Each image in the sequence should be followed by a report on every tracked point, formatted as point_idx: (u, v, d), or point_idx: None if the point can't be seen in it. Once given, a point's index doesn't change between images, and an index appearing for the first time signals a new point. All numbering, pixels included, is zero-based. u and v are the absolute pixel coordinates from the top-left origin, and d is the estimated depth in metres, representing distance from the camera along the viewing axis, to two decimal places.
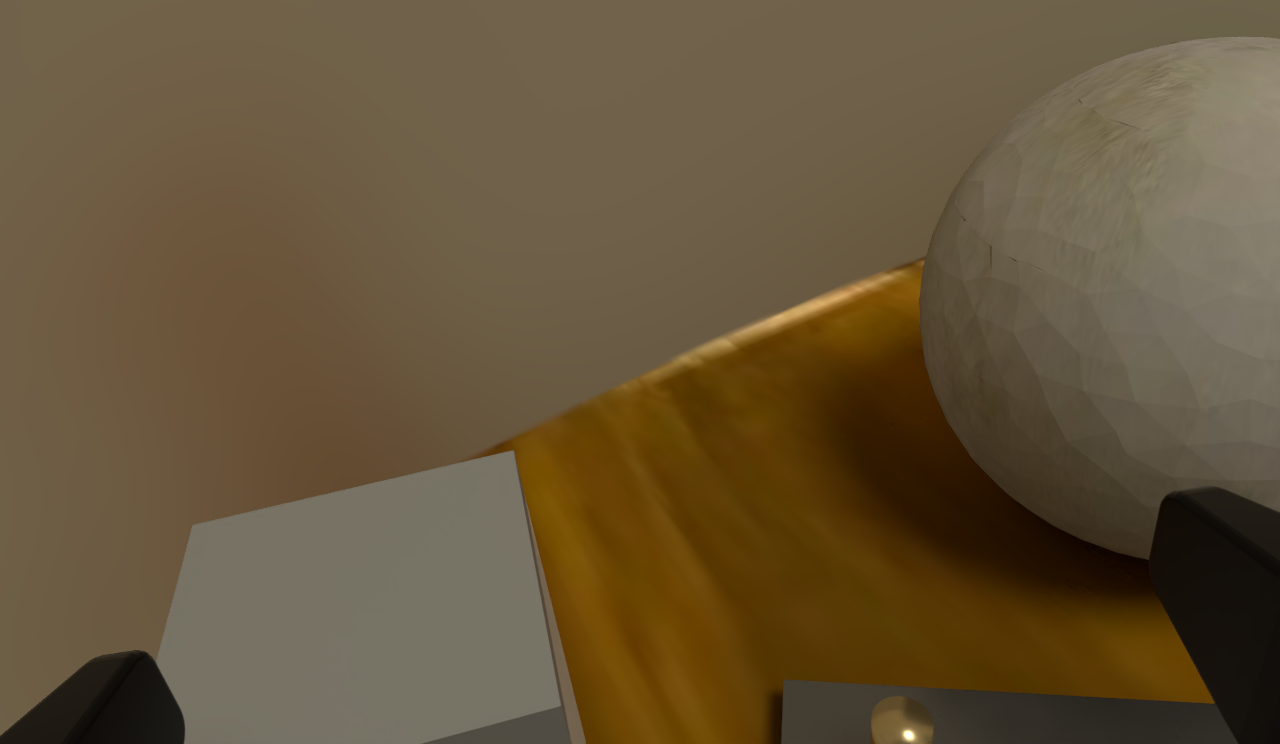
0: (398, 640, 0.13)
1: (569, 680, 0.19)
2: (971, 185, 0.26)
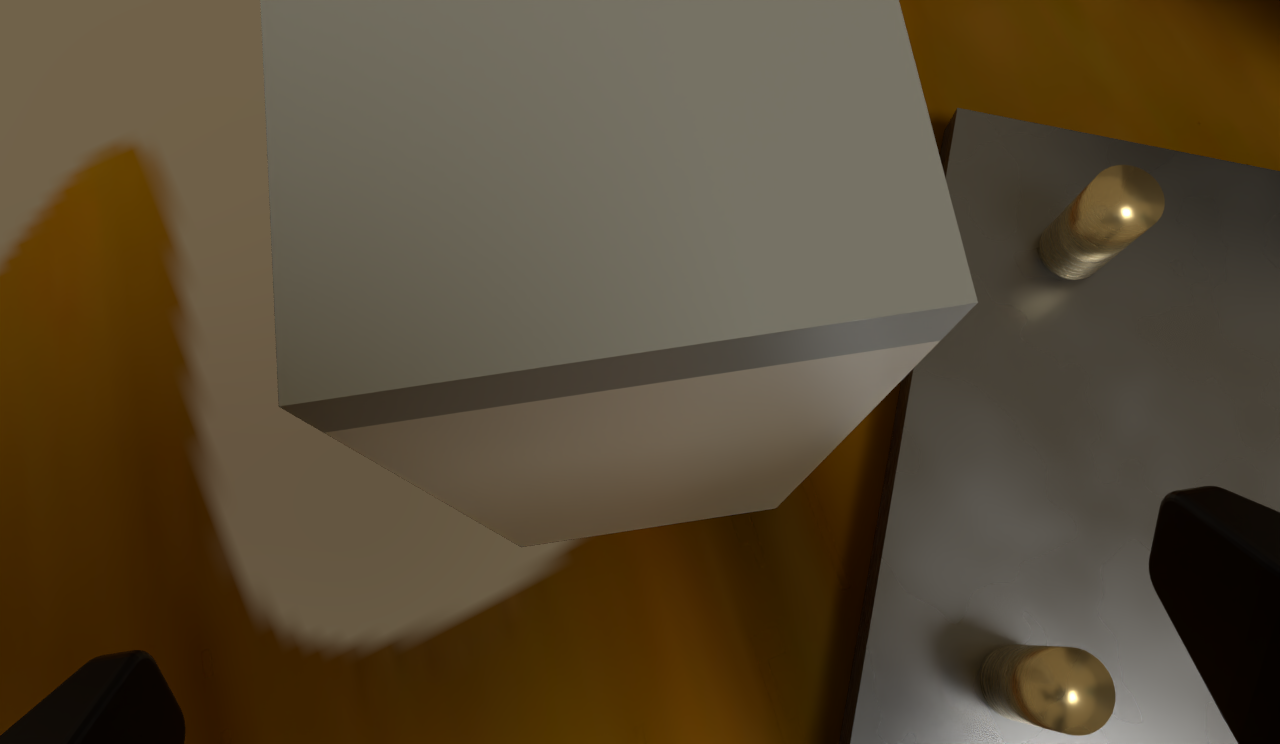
0: (682, 138, 0.08)
1: None
2: None
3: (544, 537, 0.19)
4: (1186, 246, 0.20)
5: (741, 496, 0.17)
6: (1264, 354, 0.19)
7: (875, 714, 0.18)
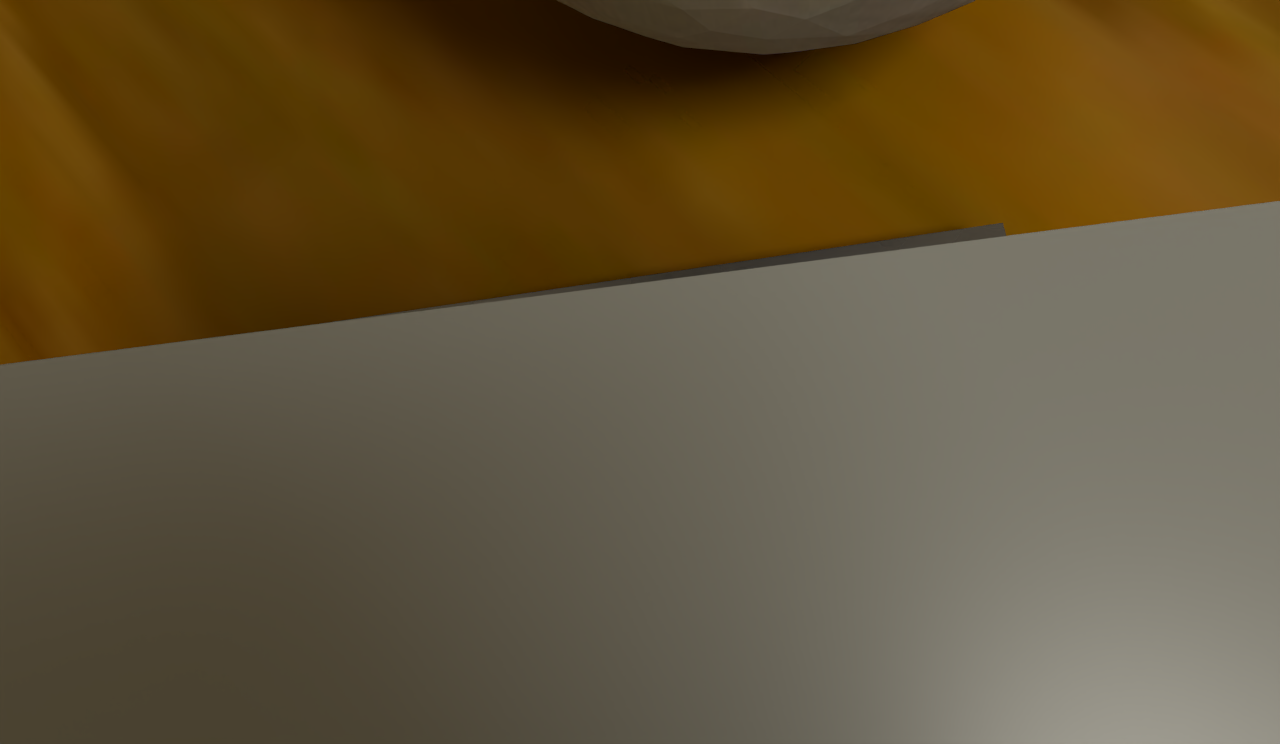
0: None
1: None
2: None
3: None
4: None
5: None
6: None
7: None
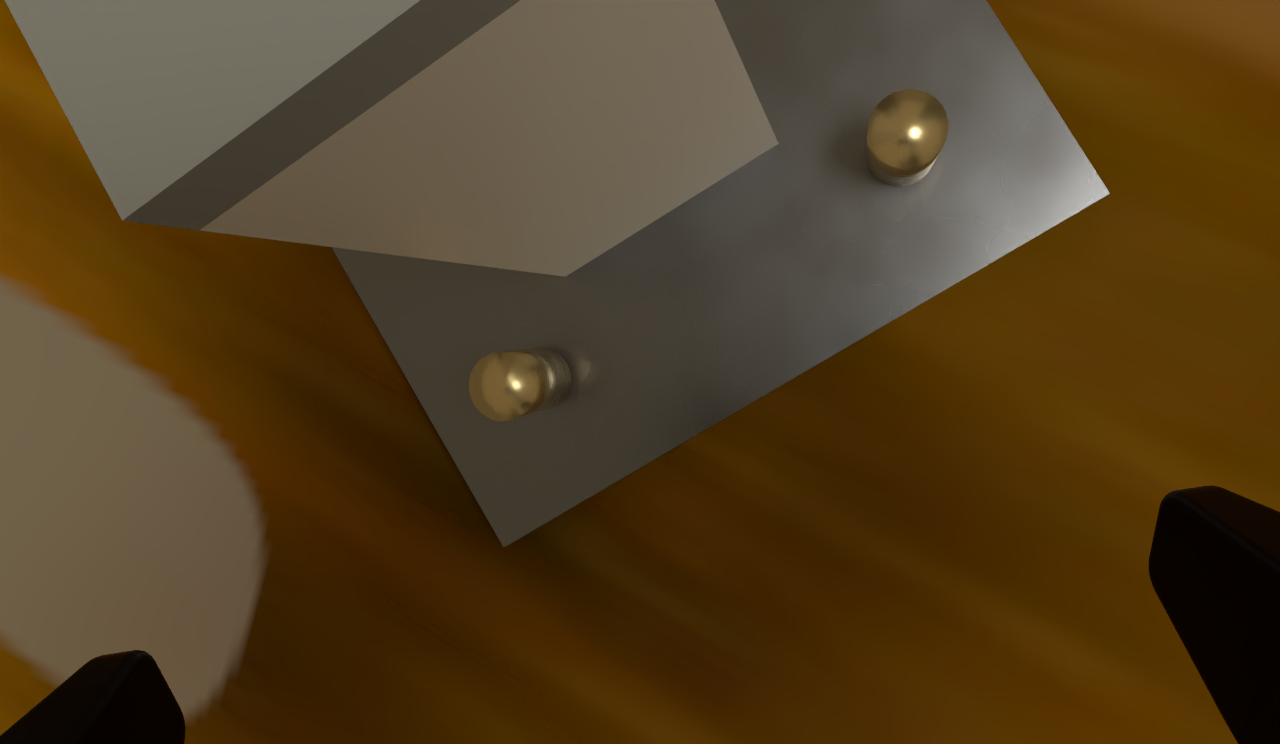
0: None
1: None
2: None
3: (573, 259, 0.20)
4: None
5: (717, 144, 0.17)
6: None
7: (480, 477, 0.22)
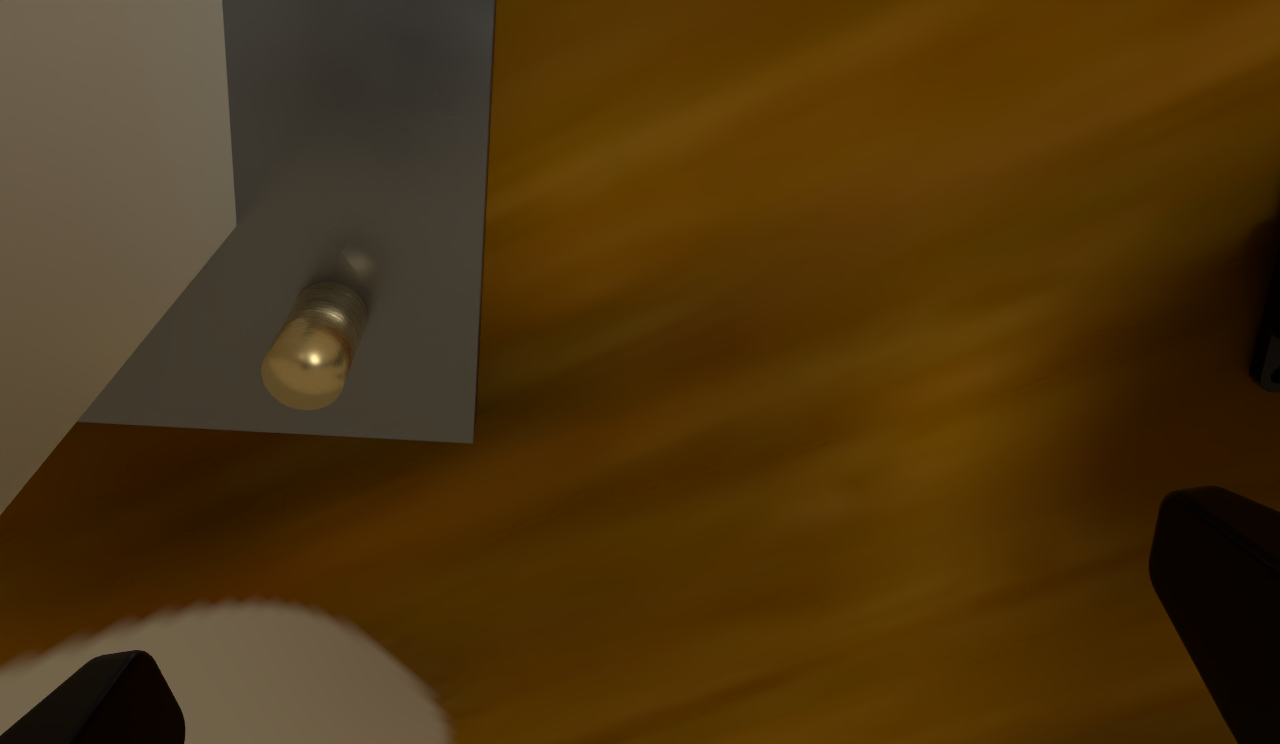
0: None
1: None
2: None
3: (215, 214, 0.16)
4: None
5: None
6: None
7: (393, 424, 0.20)
